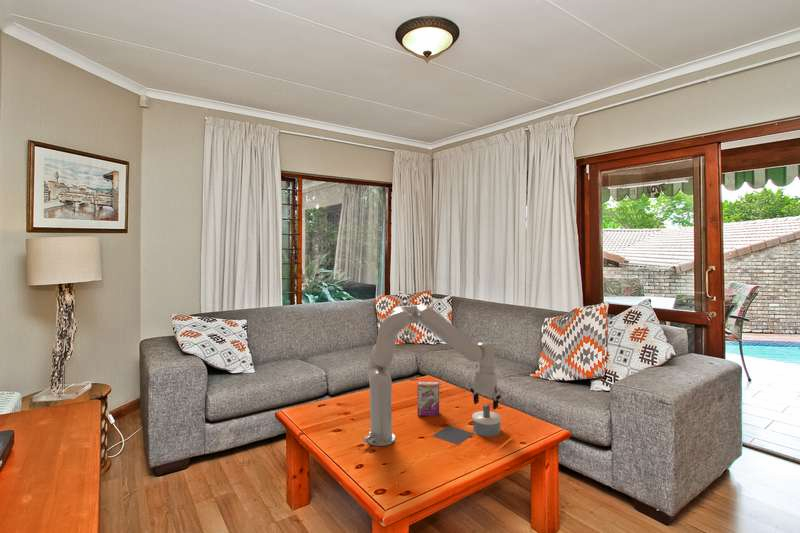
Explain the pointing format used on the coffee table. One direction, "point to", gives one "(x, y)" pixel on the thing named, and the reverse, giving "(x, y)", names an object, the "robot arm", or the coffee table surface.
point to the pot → (486, 429)
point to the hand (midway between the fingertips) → (485, 405)
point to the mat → (453, 435)
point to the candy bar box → (428, 398)
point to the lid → (486, 416)
